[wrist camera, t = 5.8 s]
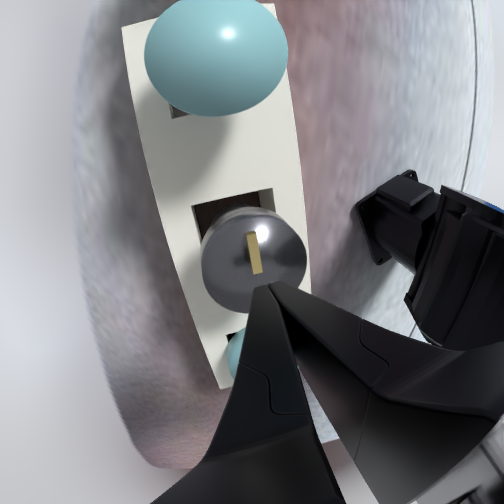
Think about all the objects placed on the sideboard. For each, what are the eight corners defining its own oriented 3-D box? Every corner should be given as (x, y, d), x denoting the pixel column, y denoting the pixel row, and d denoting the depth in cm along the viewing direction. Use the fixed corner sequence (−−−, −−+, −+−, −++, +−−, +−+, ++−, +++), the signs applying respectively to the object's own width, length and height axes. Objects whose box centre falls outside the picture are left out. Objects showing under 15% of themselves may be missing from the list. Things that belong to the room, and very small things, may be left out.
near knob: (265, 109, 14) (297, 105, 10) (165, 128, 13) (157, 131, 9) (250, 21, 12) (275, -13, 7) (149, 37, 11) (136, 6, 7)
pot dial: (281, 256, 18) (312, 302, 14) (207, 275, 17) (216, 327, 13) (271, 183, 16) (305, 209, 11) (188, 201, 15) (190, 236, 11)
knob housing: (297, 332, 26) (313, 363, 22) (214, 355, 25) (220, 389, 21) (256, 24, 14) (273, 3, 11) (133, 45, 13) (121, 27, 10)
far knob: (286, 337, 24) (305, 375, 20) (227, 353, 24) (237, 395, 20) (281, 288, 22) (302, 326, 18) (213, 306, 21) (221, 348, 17)
